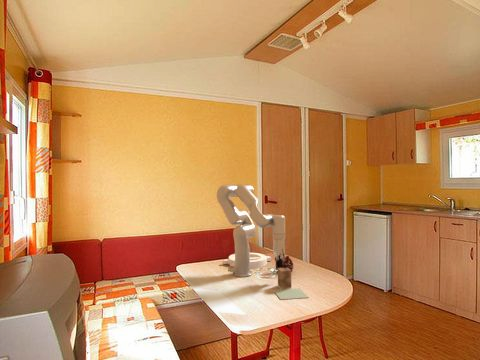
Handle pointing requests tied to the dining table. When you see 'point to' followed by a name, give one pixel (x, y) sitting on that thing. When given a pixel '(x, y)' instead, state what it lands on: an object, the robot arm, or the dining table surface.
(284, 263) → the toy fire truck
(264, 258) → the white circle with bar
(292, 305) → the dining table surface
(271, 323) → the dining table surface
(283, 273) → the walnut block
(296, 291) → the sage mat
